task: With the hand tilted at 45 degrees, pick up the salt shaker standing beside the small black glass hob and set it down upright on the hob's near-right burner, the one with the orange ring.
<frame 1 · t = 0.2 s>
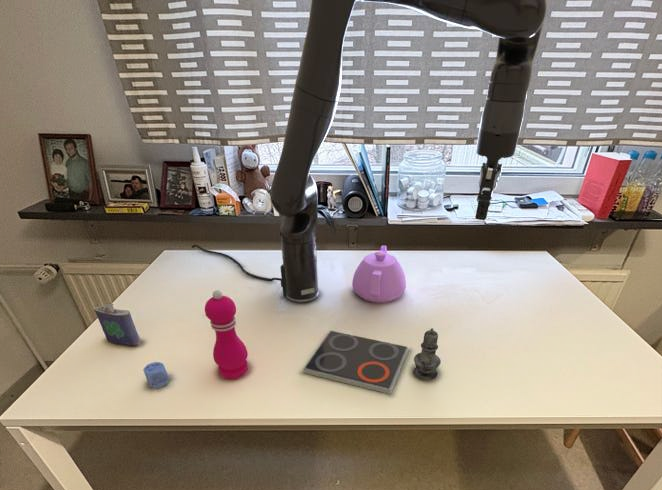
hand: (482, 212, 88), 29 cm above the table, tool pointing down, fingers open, 8 cm apart
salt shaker: (425, 373, 91), on the table
flask: (124, 342, 100), on the table
hob: (357, 361, 94), on the table
pepper mill: (234, 370, 92), on the table
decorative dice: (159, 382, 88), on the table
teapot: (378, 291, 120), on the table
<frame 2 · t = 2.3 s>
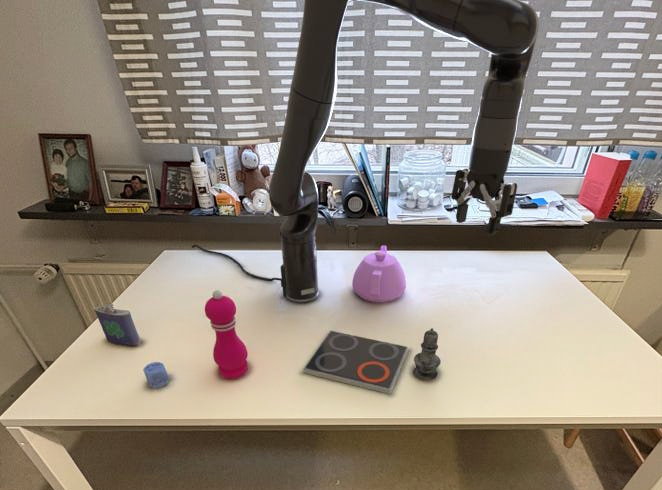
hand: (475, 228, 87), 27 cm above the table, tool pointing down, fingers open, 8 cm apart
nothing on the table moved.
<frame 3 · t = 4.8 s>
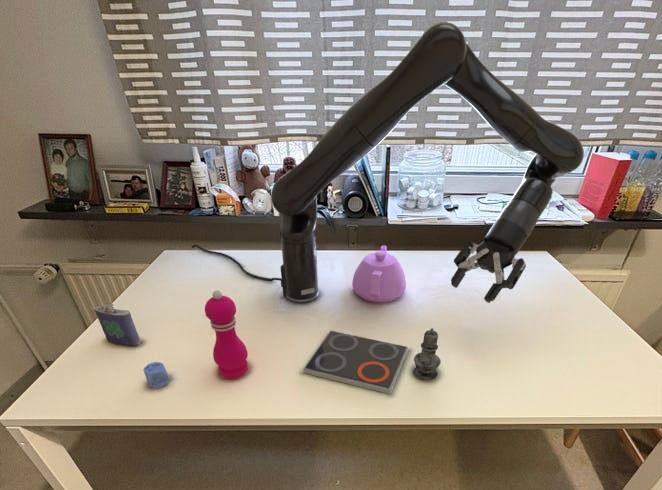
hand: (469, 293, 87), 16 cm above the table, tool tilted 45°, fingers open, 8 cm apart
nothing on the table moved.
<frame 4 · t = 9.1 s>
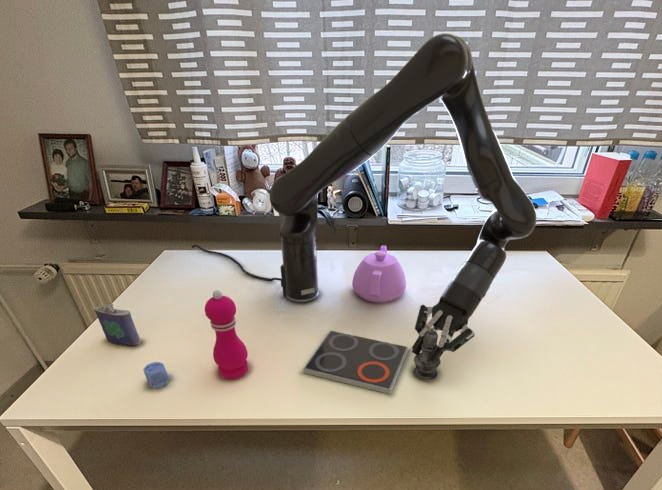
hand: (422, 358, 87), 5 cm above the table, tool tilted 45°, fingers closed on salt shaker, 3 cm apart
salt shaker: (425, 373, 91), on the table, touching gripper
everything else where it was.
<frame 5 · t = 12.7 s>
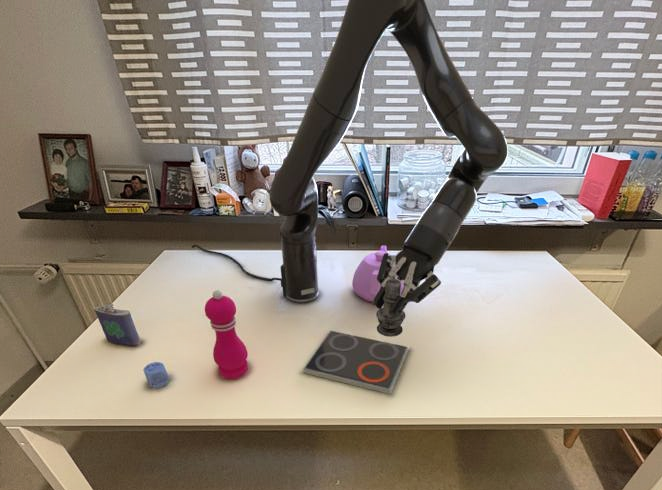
hand: (384, 310, 79), 18 cm above the table, tool tilted 45°, fingers closed on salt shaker, 3 cm apart
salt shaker: (389, 330, 83), point 12 cm above the table, touching gripper
everything else where it was.
when the fingers open (7 cm above the table, at t = 16.3 s): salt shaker stays where it is, resting on hob.
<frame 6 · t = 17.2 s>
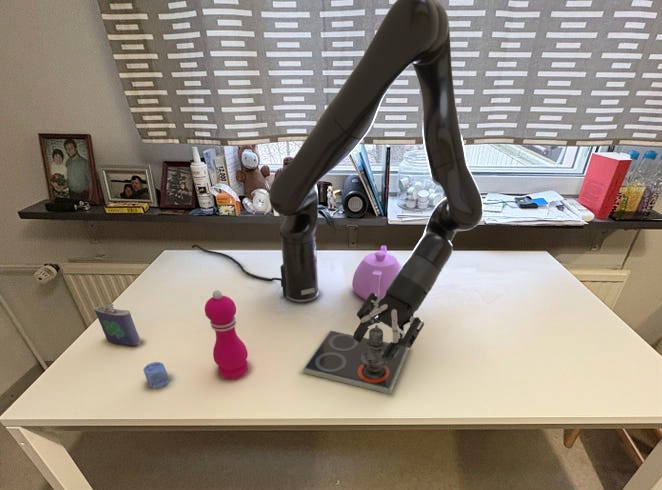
hand: (370, 349, 84), 8 cm above the table, tool tilted 45°, fingers open, 8 cm apart
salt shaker: (374, 371, 89), point 1 cm above the table, touching hob
everything else where it was.
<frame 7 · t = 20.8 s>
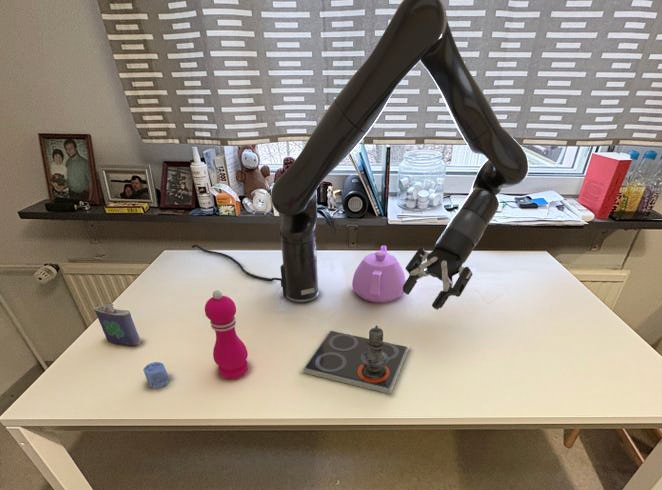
hand: (419, 300, 89), 14 cm above the table, tool tilted 45°, fingers open, 8 cm apart
nothing on the table moved.
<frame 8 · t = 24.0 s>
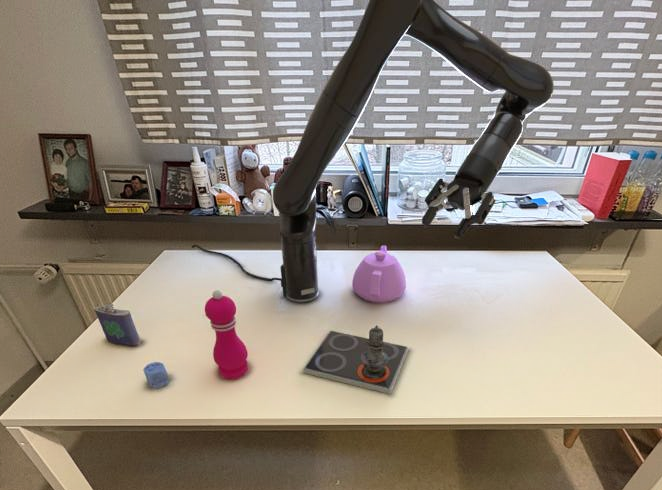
hand: (439, 231, 87), 27 cm above the table, tool tilted 45°, fingers open, 8 cm apart
nothing on the table moved.
at the end: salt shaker 0.1 cm from the target spot on the hob, point 1.5 cm above the hob's base; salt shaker tilted 0°; the gripper is holding nothing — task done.
